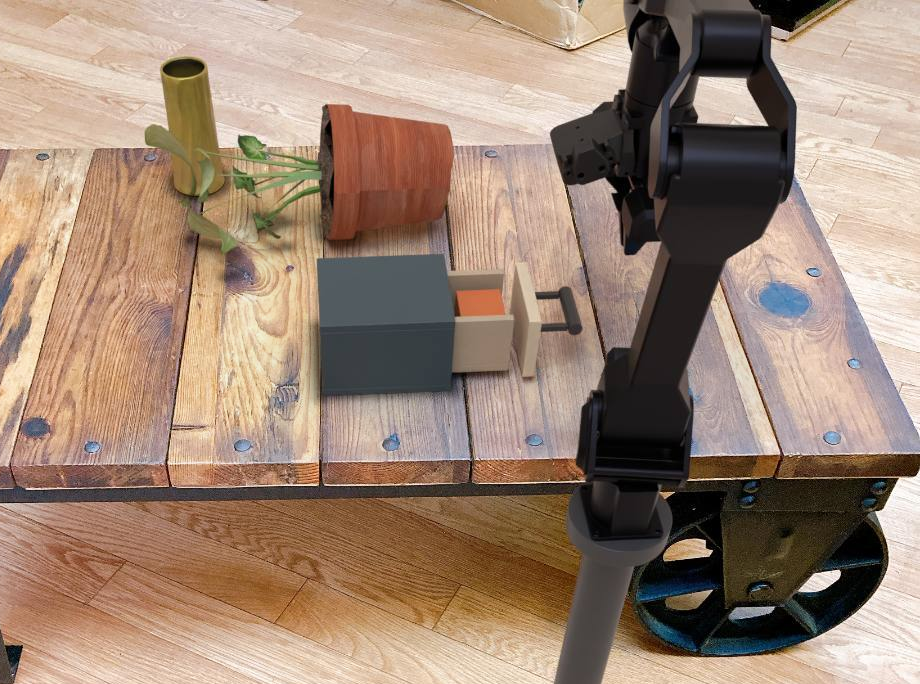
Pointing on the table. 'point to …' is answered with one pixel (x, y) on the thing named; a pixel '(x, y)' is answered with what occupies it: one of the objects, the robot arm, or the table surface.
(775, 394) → the table surface
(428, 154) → the potted plant
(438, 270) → the cabinet
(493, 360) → the drawer
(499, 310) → the block
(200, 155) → the vase
